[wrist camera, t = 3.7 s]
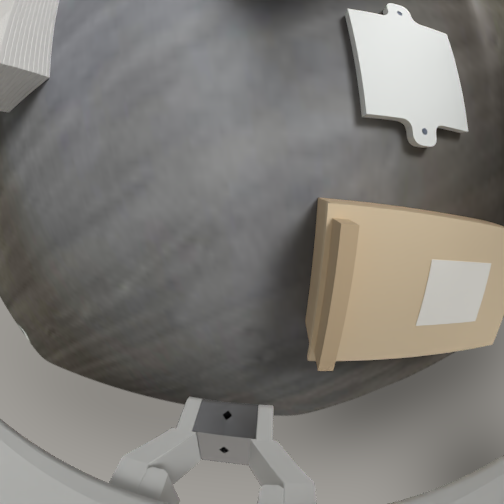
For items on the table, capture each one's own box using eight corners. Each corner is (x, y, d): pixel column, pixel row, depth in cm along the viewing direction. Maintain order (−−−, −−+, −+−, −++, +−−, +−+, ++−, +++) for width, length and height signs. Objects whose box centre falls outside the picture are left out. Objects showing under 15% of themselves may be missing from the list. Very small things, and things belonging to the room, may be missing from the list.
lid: (519, 231, 17) (539, 237, 14) (489, 341, 21) (504, 355, 17) (326, 202, 19) (336, 206, 16) (307, 356, 22) (310, 380, 19)
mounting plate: (340, 2, 19) (343, -7, 17) (434, 24, 18) (440, 19, 16) (362, 142, 24) (368, 139, 22) (460, 154, 22) (470, 153, 21)
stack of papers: (50, 77, 23) (-3, 62, 13) (10, 112, 24) (-39, 108, 14) (69, -36, 16) (41, -56, 5) (31, -6, 17) (1, -20, 7)
